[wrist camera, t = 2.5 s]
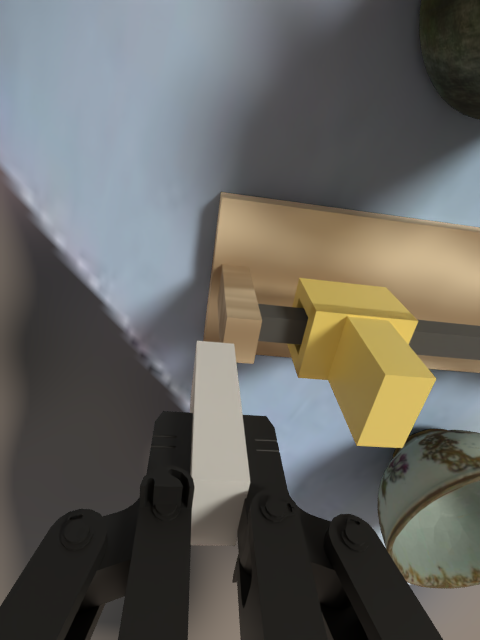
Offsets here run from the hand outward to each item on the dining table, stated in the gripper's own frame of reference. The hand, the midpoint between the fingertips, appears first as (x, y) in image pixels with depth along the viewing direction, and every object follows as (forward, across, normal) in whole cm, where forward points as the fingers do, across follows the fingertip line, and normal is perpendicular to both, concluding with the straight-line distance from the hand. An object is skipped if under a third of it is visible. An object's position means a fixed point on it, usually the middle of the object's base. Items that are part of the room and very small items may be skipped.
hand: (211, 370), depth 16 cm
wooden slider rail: (+10, +14, 0) cm, 17 cm away
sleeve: (+6, +7, 0) cm, 9 cm away
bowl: (+10, +21, -15) cm, 28 cm away
